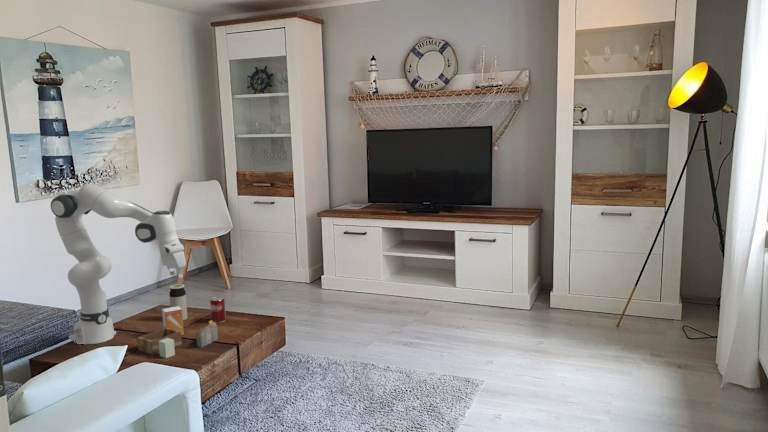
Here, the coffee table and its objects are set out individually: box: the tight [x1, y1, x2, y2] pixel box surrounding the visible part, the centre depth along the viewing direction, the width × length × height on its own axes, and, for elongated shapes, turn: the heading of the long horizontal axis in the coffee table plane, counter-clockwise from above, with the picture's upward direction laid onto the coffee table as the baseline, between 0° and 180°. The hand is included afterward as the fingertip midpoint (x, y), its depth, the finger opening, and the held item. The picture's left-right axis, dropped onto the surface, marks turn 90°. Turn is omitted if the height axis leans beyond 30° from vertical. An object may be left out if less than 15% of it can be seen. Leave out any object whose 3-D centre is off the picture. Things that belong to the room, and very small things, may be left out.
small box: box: [161, 306, 185, 336], centre depth 283 cm, size 8×6×13 cm
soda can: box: [209, 296, 227, 324], centre depth 302 cm, size 7×7×12 cm
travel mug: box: [168, 283, 188, 322], centre depth 305 cm, size 8×8×18 cm
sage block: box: [159, 338, 176, 359], centre depth 258 cm, size 4×4×7 cm
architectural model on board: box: [195, 319, 219, 349], centre depth 272 cm, size 11×3×10 cm, turn 157°
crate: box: [136, 328, 183, 356], centre depth 268 cm, size 11×15×6 cm
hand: (176, 276), depth 263 cm, fingers open, 8 cm apart
